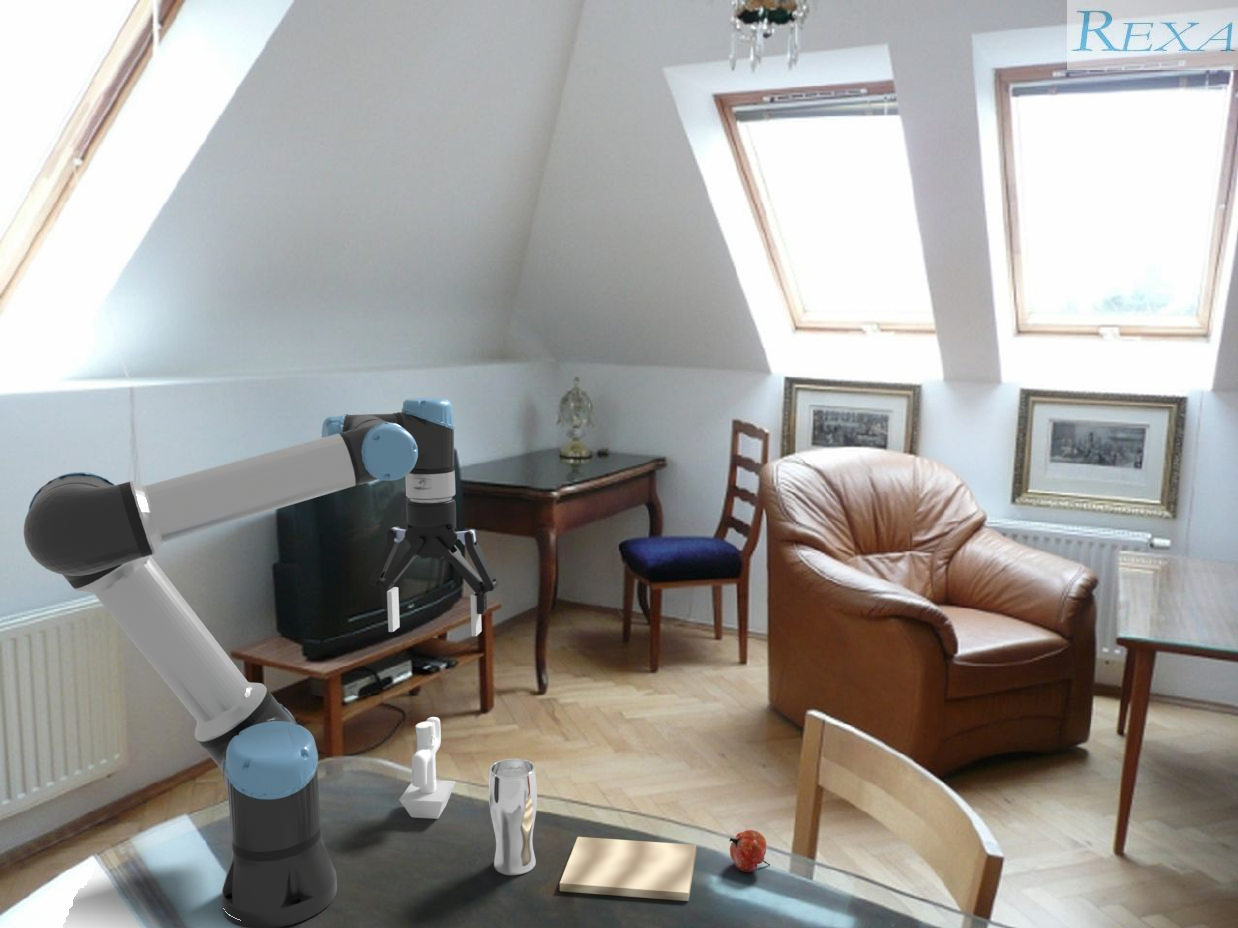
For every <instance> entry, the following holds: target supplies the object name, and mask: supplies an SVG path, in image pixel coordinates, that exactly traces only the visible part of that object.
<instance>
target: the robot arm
mask: <svg viewBox="0 0 1238 928" xmlns="http://www.w3.org/2000/svg"><path fill="white" fill-rule="evenodd" d="M452 405H453V404H452V403H451V402H450V400H448V399H446V398H443V397H416V398H413V397H412V398H406V399H405V400H404V401H403V403H402V408H401V411H399V412H398V411H397V412H393V413H375V414H373V413H370V414H366V413H365V414H348V413H347V414H346V413H345V414H342V415H333V416H327V417H326V418H325V419H324V420H323V423H322V426H321V427H322V428H321V437H320V438H317V439H313V440H309V441H305V442H302V443H299V444H294V445H291V446H287V447H284V448H280V449H276V450H273V451H269V452H268V451H267V452H266V453H265V452H264V453H261V454H258V455H255V456H251V457H250V456H249V457H246V458H243V459H242V458H241V459H240V460H235V461H232V462H228V463H224V464H221V465H217V466H214V467H210V468H207V469H202V470H199V471H195V472H192V473H188V474H184V475H180V476H176V477H173V478H169V479H165V480H161V481H157V482H154V483H150V484H147V485H142V484H140V483H137V482H135V481H134V480H130V481H126V482H123V483H120V484H119V483H118V484H115V483H114V482H112V481H110V480H109V479H108V478H106V477H103V476H102V475H99V474H95V473H91V472H85V471H84V472H83V471H78V472H77V471H76V472H69V473H64V474H62V475H59V476H57V477H55V478H53V479H50V480H49V481H48V482H47V483H46V484H44V485H43V486H41V487H40V488H39V489H38V490H37V492H36V493H34V496H33V497H32V498H31V499H32V500H31V501H30V503H29V506H28V512H27V514H26V516H25V519H24V524H23V539H24V544H25V546H26V548H27V550H28V552H29V555H31V557H32V558H33V559H34V560H35V561H36V562H37V563H38V564H39V565H41V566H42V567H43V568H44V569H46V570H49V571H50V572H52V573H55V574H59V575H62V576H63V577H64V579H66V581H67V582H68V583H69V585H70V586H71V587H72V588H73V589H74V590H75V591H77V592H87V593H88V592H89V593H92V594H93V595H94V596H95V597H96V598H97V599H98V601H99V602H100V604H102V606H103V607H104V608H105V609H106V611H107V612H108V613H109V614H110V615H111V617H112V618H113V620H114V621H115V622H116V623H117V624H118V625H119V627H120V628H121V629H122V631H124V633H125V634H126V636H128V638H129V639H130V640H131V641H132V643H133V644H134V646H135V647H136V648H137V649H138V650H139V651H140V653H141V654H142V655H143V656H144V657H145V659H146V660H147V661H148V662H149V663H150V666H152V667H153V669H154V670H155V671H156V672H157V674H158V675H159V677H161V679H162V680H163V681H164V682H165V684H166V685H167V686H168V687H169V689H170V690H171V691H172V693H173V694H174V695H175V696H176V697H177V699H178V700H179V701H180V702H181V703H182V705H183V706H184V707H185V709H187V711H188V713H190V715H191V716H192V717H193V718H194V720H195V721H196V726H195V730H194V738H195V739H196V741H197V742H198V743H199V744H200V746H202V748H203V749H204V750H205V752H206V753H207V754H208V755H209V757H210V758H211V759H212V761H213V762H214V763H215V764H216V765H217V766H218V768H219V769H220V771H221V773H222V777H223V781H224V785H225V789H226V794H227V798H228V807H229V820H230V821H229V822H230V834H231V836H230V837H231V846H232V847H231V853H232V854H231V856H230V862H229V864H228V869H227V872H226V875H225V879H224V882H223V886H222V890H221V906H222V905H223V906H222V913H223V916H224V918H225V919H227V920H228V921H229V922H230V923H231V924H234V925H236V926H240V927H242V928H283V927H286V926H291V925H295V924H298V923H301V922H303V921H305V920H308V919H310V918H312V917H314V916H316V915H317V914H319V913H320V912H322V911H324V910H325V909H326V908H327V907H328V906H329V905H330V904H331V903H332V902H333V901H334V899H335V898H336V895H337V893H338V884H337V883H338V881H337V880H338V879H337V872H336V868H335V866H334V863H333V862H332V860H331V858H330V855H329V852H328V850H327V848H326V845H325V843H324V841H323V838H322V832H321V831H322V829H321V813H320V812H321V811H320V809H321V808H320V793H319V775H318V765H319V755H318V753H319V752H318V749H317V745H316V742H315V738H314V736H313V735H312V733H311V732H310V731H309V730H308V729H307V728H306V727H304V726H303V725H300V724H297V722H296V720H295V719H296V718H294V716H293V715H292V713H291V712H290V711H289V710H288V709H287V708H286V707H284V706H283V704H281V703H279V702H278V701H277V699H276V698H275V697H274V696H273V694H272V693H271V692H270V691H269V689H268V688H267V685H264V684H263V683H262V682H261V683H260V682H250V681H248V680H247V679H246V677H245V676H244V675H243V673H242V672H241V671H240V670H239V668H238V667H237V665H236V664H235V663H234V662H233V661H232V659H231V658H230V657H229V655H228V654H227V652H226V651H225V650H224V649H223V647H222V646H221V645H220V643H219V642H218V641H217V639H215V637H214V636H213V635H212V633H211V632H210V631H209V630H208V628H207V627H206V626H205V625H204V624H205V623H203V622H202V620H201V619H200V618H199V617H198V614H196V612H195V611H194V610H193V609H192V607H191V606H190V604H189V603H188V602H187V601H186V600H185V598H184V597H183V595H182V594H181V593H180V592H179V591H178V590H177V588H176V586H175V585H174V584H173V583H172V582H171V580H170V579H169V577H168V576H167V575H166V574H165V573H164V571H163V570H162V568H161V567H160V566H159V565H158V563H157V562H156V561H155V560H154V558H153V557H152V556H153V555H154V554H155V555H156V554H157V552H158V551H159V549H160V547H161V546H162V544H164V543H168V542H170V541H174V540H177V539H181V538H183V537H187V536H191V535H194V534H197V533H201V532H204V531H207V530H211V529H214V528H217V527H221V526H224V525H228V524H231V523H234V522H238V521H241V520H244V519H247V518H248V519H249V518H251V517H254V516H257V515H262V514H265V513H268V512H271V511H275V510H279V509H283V508H285V507H288V506H291V505H295V504H299V503H301V502H304V501H305V502H306V501H309V500H311V499H315V498H317V497H321V496H325V495H329V494H332V493H336V492H339V491H342V490H345V489H348V488H353V487H355V486H360V485H364V484H367V483H371V482H374V481H377V480H378V481H382V482H383V481H387V482H389V481H397V480H400V479H403V478H405V496H406V497H407V498H408V499H407V502H406V503H405V506H406V507H405V508H406V524H407V527H406V529H404V528H400V526H396V525H395V526H394V527H392V528H390V529H388V530H387V531H386V533H387V534H386V544H385V545H384V548H383V550H382V552H381V555H380V556H379V558H378V561H377V563H376V565H375V567H374V570H373V572H372V573H371V574H372V575H371V576H370V579H369V585H370V586H371V587H376V588H379V590H380V591H381V606H382V608H383V610H384V611H387V625H388V626H387V627H388V632H389V633H393V632H395V631H396V630H397V629H399V628H400V624H401V623H400V601H399V599H400V597H399V595H400V594H399V587H397V586H394V585H395V584H396V582H397V581H398V580H399V579H400V577H402V575H403V574H404V573H405V571H406V570H407V569H408V568H409V566H410V565H412V563H413V561H414V560H415V559H416V558H417V557H420V559H428V558H432V559H434V560H441V559H443V558H444V559H445V560H446V561H447V562H448V563H450V564H451V565H452V566H453V568H454V569H455V570H456V572H458V573H459V575H460V576H461V577H462V578H463V580H464V581H465V582H466V583H467V585H468V586H469V587H470V588H471V590H472V591H473V593H471V594H470V597H469V598H470V624H471V625H470V627H471V637H478V635H480V633H481V632H482V630H483V629H482V615H484V614H485V613H486V612H487V610H488V606H487V605H488V603H487V602H488V601H487V593H488V592H493V591H494V590H495V589H496V588H497V587H498V586H499V581H498V580H497V577H496V575H495V573H494V572H493V569H492V568H491V565H490V564H489V562H488V559H487V557H486V556H485V554H484V552H483V550H482V548H481V545H480V544H479V540H478V532H477V530H476V529H474V528H470V529H469V530H463V531H459V530H458V528H457V508H456V507H457V503H456V500H455V498H454V496H455V495H456V476H455V475H456V474H455V472H456V471H455V424H454V413H453V406H452ZM404 538H405V540H406V541H407V543H408V544H409V546H410V547H409V549H407V550H406V552H405V553H404V555H403V557H402V558H401V559H400V560H399V562H398V563H397V564H396V565H395V567H394V568H393V569H392V570H391V572H390V573H389V574H388V575H387V576H386V577H385V575H386V573H387V571H388V569H389V566H390V564H391V563H392V560H393V558H394V556H395V553H396V551H397V549H398V547H399V544H400V542H403V541H404ZM459 540H460V542H461V543H462V545H464V546H465V548H466V551H467V553H468V555H469V558H470V559H471V561H472V563H473V565H474V567H475V569H476V570H475V569H474V568H473V567H472V566H471V565H470V563H469V562H468V561H467V559H466V558H465V557H464V556H463V555H462V552H461V550H460V549H459V548H458V547H457V545H456V543H457V542H458V541H459ZM223 908H224V909H225V910H224V909H223ZM225 911H226V912H227V913H228V914H230V915H231V916H233V917H235V918H237V919H240V920H241V921H240V920H237V919H235V918H233V917H231V916H229V915H228V914H227V913H226V912H225Z"/></svg>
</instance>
